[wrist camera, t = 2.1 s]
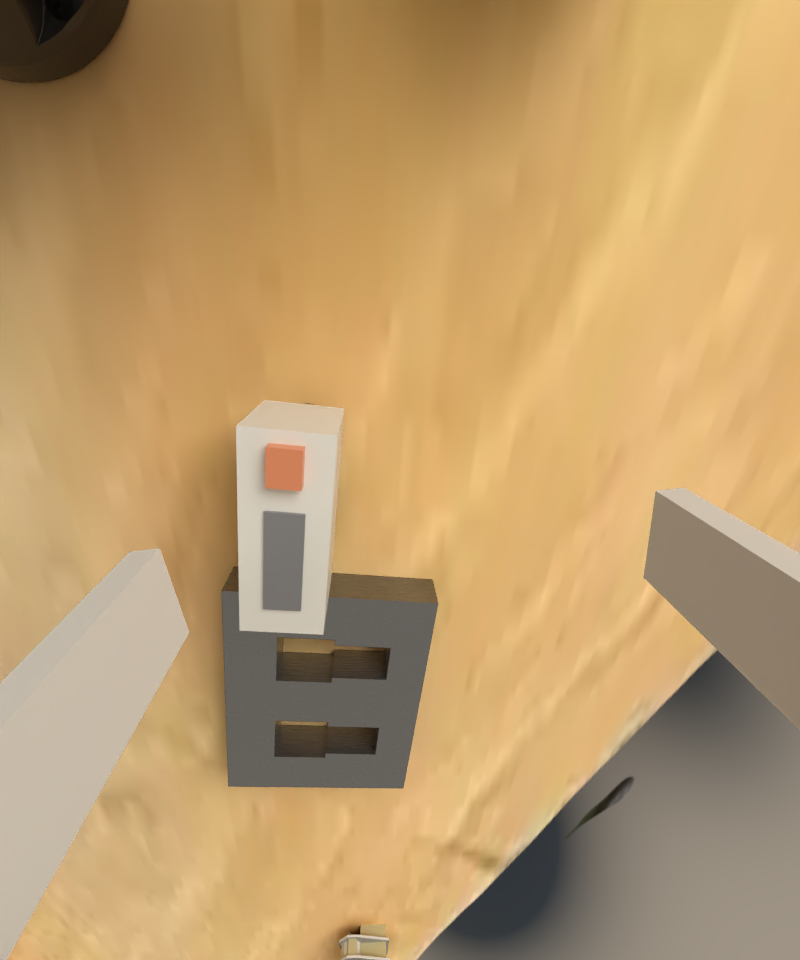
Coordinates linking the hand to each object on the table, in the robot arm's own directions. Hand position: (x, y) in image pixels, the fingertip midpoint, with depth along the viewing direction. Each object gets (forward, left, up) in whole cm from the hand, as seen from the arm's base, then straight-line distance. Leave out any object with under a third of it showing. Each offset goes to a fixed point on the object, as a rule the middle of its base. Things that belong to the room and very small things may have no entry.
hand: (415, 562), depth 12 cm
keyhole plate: (-3, -29, -24) cm, 37 cm away
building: (+5, -77, -24) cm, 81 cm away
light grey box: (-6, -8, -24) cm, 25 cm away
